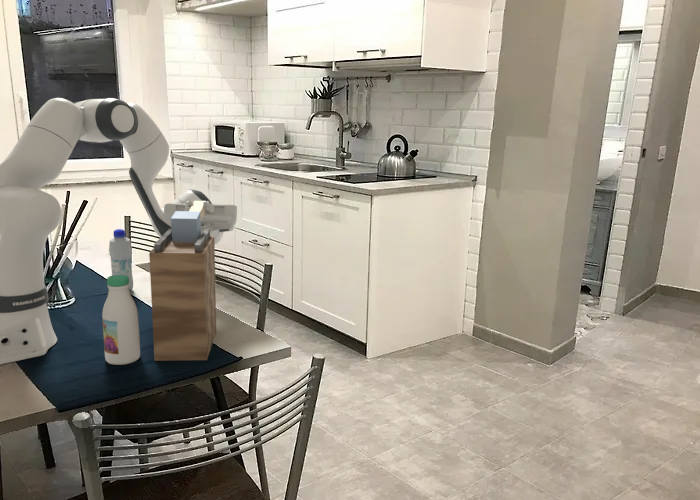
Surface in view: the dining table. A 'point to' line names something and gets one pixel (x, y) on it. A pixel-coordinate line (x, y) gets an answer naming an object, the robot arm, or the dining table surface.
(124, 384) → the dining table surface
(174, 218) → the block with handle
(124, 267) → the bottle
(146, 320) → the dining table surface
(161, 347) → the walnut stand
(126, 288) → the milk bottle
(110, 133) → the robot arm
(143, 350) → the dining table surface
